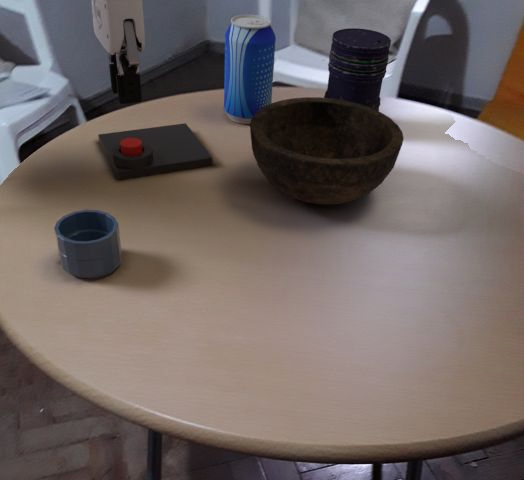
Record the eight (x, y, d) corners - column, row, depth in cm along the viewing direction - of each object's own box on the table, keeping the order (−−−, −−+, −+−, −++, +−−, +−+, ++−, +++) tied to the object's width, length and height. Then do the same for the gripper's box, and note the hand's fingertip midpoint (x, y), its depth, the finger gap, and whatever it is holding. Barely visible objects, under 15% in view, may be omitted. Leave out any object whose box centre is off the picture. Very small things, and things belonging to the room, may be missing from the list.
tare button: (124, 158, 94) (123, 148, 93) (118, 148, 96) (117, 139, 95) (145, 155, 95) (144, 145, 94) (139, 146, 97) (138, 136, 96)
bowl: (276, 146, 106) (280, 86, 99) (402, 176, 101) (417, 115, 94) (224, 207, 91) (225, 142, 84) (370, 245, 86) (384, 179, 79)
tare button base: (119, 180, 95) (116, 161, 93) (98, 142, 103) (96, 124, 101) (212, 165, 100) (212, 147, 98) (185, 130, 108) (185, 113, 106)
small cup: (68, 286, 76) (61, 248, 72) (56, 252, 81) (49, 215, 77) (128, 274, 78) (124, 236, 74) (114, 242, 83) (109, 205, 79)
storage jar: (312, 129, 111) (322, 39, 101) (332, 110, 118) (344, 24, 108) (365, 143, 109) (381, 52, 98) (382, 122, 115) (399, 35, 105)
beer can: (254, 130, 110) (259, 32, 99) (214, 117, 113) (215, 20, 102) (278, 115, 115) (286, 20, 104) (240, 102, 118) (243, 9, 107)
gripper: (68, -66, 82) (87, 78, 94) (98, -34, 71) (115, 124, 84) (125, -68, 84) (136, 73, 97) (162, -37, 73) (169, 117, 86)
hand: (126, 95), depth 90 cm, fingers open, 3 cm apart
